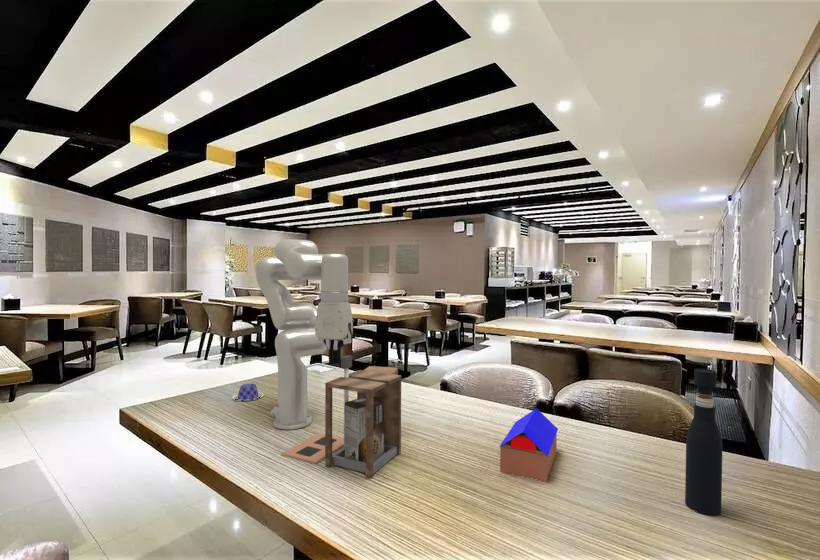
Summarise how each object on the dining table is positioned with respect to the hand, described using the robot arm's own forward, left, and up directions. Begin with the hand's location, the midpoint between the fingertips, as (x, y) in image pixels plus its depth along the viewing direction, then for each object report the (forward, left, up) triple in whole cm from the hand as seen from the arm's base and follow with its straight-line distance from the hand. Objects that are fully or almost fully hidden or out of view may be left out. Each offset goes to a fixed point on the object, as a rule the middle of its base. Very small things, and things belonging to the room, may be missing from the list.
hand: (334, 363), depth 114 cm
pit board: (-6, 0, -25) cm, 26 cm away
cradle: (+10, 0, -25) cm, 27 cm away
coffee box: (+10, 0, -26) cm, 27 cm away
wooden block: (+4, +18, -26) cm, 32 cm away
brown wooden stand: (+10, 0, -25) cm, 27 cm away
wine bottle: (+88, +14, -26) cm, 93 cm away
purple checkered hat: (-62, +26, -26) cm, 72 cm away
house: (+50, +20, -26) cm, 60 cm away
